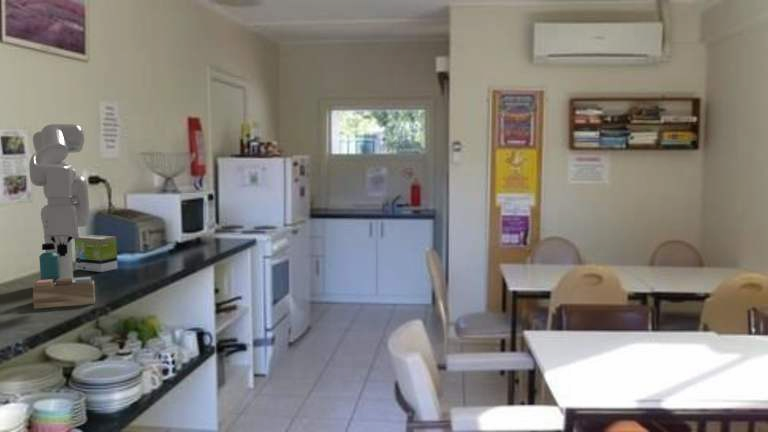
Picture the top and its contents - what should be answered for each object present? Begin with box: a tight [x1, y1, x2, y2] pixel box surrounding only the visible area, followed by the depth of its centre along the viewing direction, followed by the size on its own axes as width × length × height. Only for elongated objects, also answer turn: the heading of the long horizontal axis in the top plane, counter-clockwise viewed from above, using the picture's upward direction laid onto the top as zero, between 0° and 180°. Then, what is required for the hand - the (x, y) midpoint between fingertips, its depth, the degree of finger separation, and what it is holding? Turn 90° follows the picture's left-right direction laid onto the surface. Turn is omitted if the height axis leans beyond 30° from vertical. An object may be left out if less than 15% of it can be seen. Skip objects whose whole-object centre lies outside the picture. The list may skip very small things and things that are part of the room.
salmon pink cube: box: [35, 279, 53, 287], centre depth 238 cm, size 5×5×5 cm
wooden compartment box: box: [32, 280, 96, 309], centre depth 240 cm, size 7×19×7 cm, turn 109°
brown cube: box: [56, 278, 72, 286], centre depth 240 cm, size 5×5×5 cm
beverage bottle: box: [39, 242, 60, 283], centre depth 248 cm, size 6×7×20 cm
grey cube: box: [75, 276, 92, 285], centre depth 242 cm, size 5×5×5 cm
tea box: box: [74, 234, 118, 273], centre depth 310 cm, size 15×10×15 cm
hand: (62, 255), depth 239 cm, fingers closed
